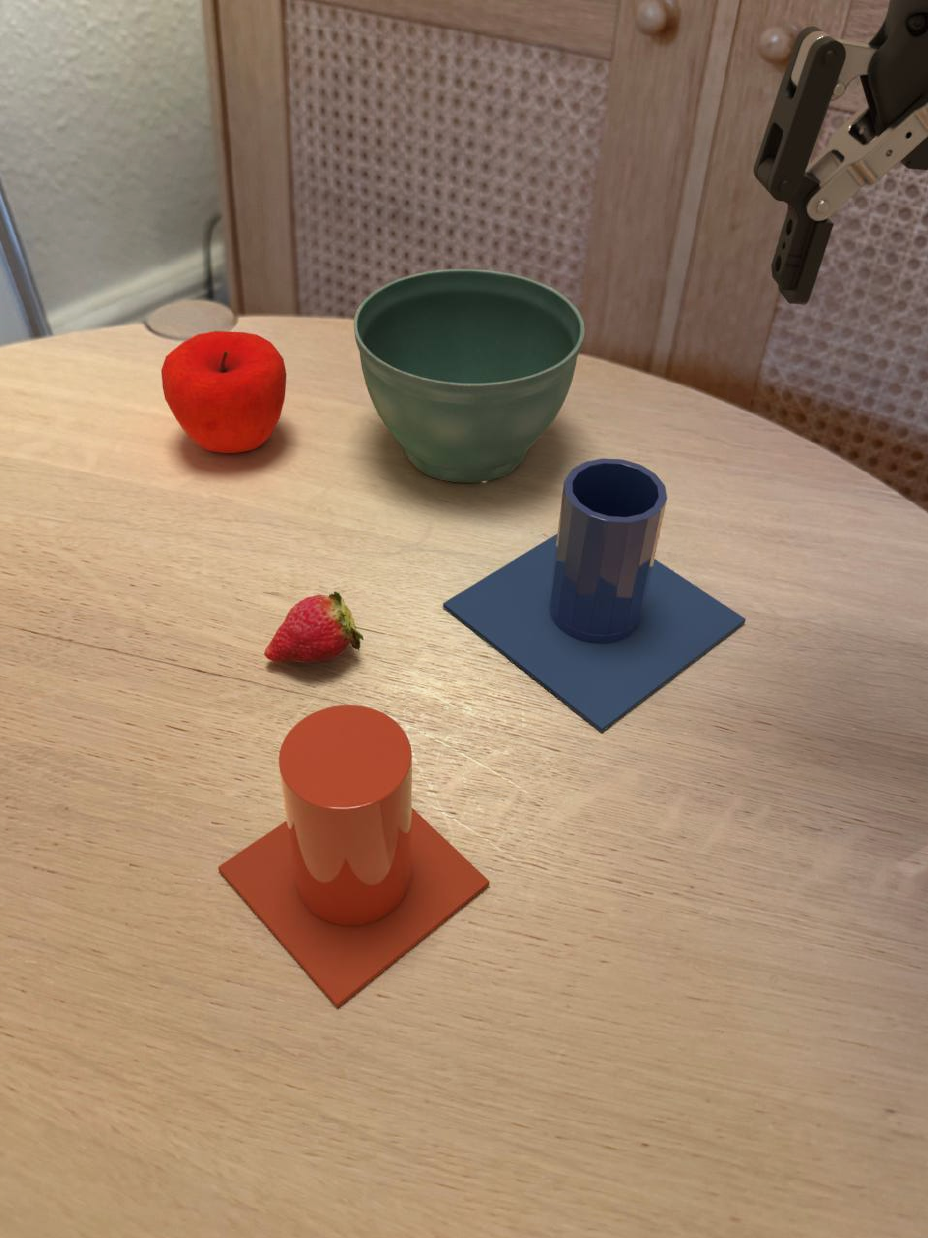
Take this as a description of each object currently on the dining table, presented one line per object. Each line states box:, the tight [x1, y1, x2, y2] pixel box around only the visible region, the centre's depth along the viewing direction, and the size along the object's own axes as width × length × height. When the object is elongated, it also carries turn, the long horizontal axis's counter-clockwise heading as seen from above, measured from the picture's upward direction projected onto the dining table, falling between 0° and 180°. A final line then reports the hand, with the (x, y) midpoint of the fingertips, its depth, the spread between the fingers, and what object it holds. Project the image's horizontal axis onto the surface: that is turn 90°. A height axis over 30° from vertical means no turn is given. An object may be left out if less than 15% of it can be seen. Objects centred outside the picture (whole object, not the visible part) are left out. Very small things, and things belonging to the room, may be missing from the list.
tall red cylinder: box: [278, 704, 413, 926], centre depth 52 cm, size 6×6×10 cm
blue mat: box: [442, 532, 747, 733], centre depth 71 cm, size 14×14×1 cm
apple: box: [160, 330, 288, 454], centre depth 80 cm, size 9×9×8 cm
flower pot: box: [353, 268, 585, 484], centre depth 79 cm, size 16×16×11 cm
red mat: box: [217, 807, 491, 1009], centre depth 56 cm, size 10×10×1 cm
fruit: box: [263, 591, 364, 664], centre depth 66 cm, size 4×6×5 cm
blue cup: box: [549, 458, 668, 643], centre depth 67 cm, size 6×6×10 cm
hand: (881, 304), depth 49 cm, fingers open, 8 cm apart
